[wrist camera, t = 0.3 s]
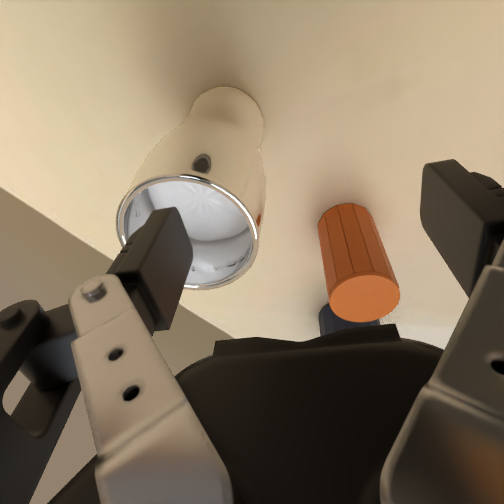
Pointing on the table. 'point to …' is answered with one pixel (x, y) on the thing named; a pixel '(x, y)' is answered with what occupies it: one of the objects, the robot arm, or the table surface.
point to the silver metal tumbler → (207, 186)
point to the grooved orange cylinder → (356, 265)
